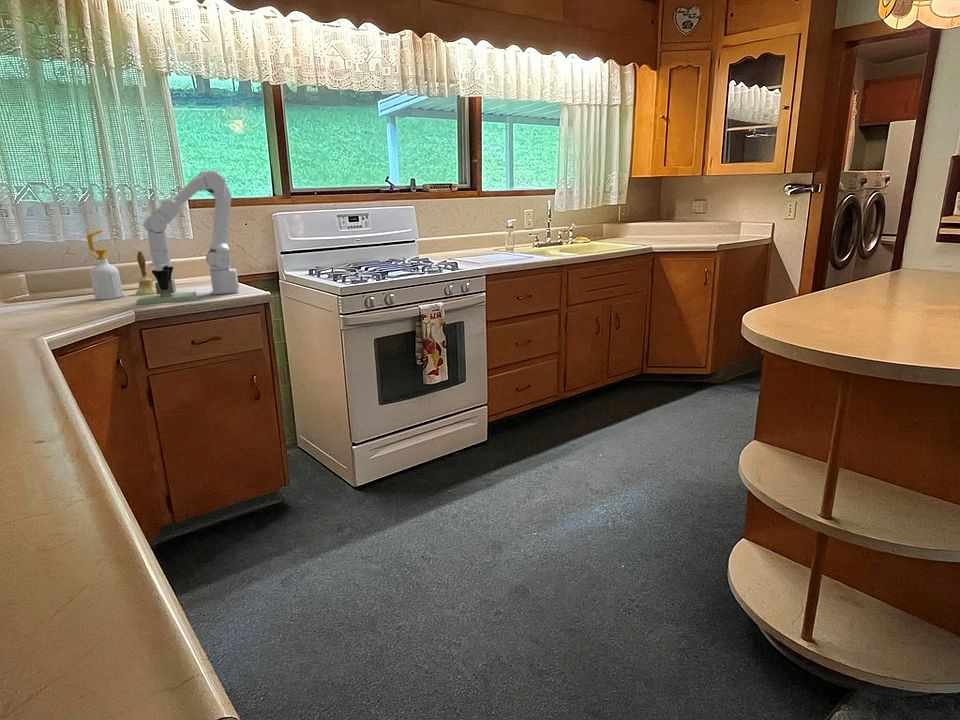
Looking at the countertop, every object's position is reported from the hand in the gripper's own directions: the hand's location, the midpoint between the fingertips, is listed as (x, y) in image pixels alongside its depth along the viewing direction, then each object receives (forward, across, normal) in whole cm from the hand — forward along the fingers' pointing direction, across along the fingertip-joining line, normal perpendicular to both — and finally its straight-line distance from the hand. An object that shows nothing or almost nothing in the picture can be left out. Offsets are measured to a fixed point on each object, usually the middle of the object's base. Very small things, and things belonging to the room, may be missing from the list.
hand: (166, 288), depth 219 cm
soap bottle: (+4, -15, -22) cm, 27 cm away
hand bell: (+4, -20, -10) cm, 23 cm away
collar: (+1, 0, 0) cm, 1 cm away
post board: (+4, 0, 0) cm, 4 cm away
